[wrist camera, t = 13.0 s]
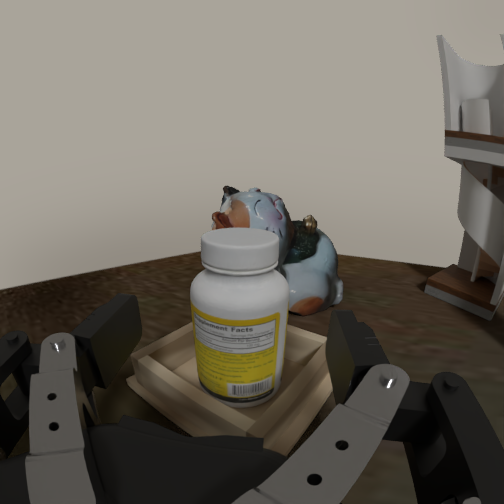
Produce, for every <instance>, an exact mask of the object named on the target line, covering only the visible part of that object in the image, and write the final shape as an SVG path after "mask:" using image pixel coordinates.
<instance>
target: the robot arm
mask: <svg viewBox="0 0 504 504" xmlns="http://www.w3.org/2000/svg"><path fill="white" fill-rule="evenodd" d="M141 335H142V325H141V319H140V313H139V306H138V300H137V297H136V296H135V295H129V294H121V293H119V294H117V295H116V296H115V297H114V298H113V299H111V300H110V301H109V302H108V303H106V304H104V305H102V306H100V307H98V308H97V309H96V310H95V311H93V312H92V313H91V315H89V316H88V317H87V318H86V320H84V321H83V322H81V323H80V324H79V325H78V326H77V327H76V328H75V329H74V330H73V331H72V332H71V333H70V334H68V333H56V334H53V335H50V336H48V337H47V338H46V339H45V340H44V341H43V342H42V344H30V342H29V339H28V336H27V334H26V333H25V332H23V331H13V332H10V333H7V334H6V335H4V336H3V337H2V338H1V339H0V386H1V384H2V383H3V382H4V381H5V380H6V378H7V377H8V376H9V375H10V374H11V373H12V374H13V376H14V378H15V380H16V382H17V384H18V386H17V387H16V388H15V389H14V391H13V392H12V393H11V394H10V395H9V397H8V398H7V399H6V400H5V402H4V400H3V399H2V397H1V395H0V504H342V503H341V501H342V499H343V498H344V497H345V495H346V494H347V493H348V491H349V490H350V488H351V487H352V486H353V484H354V483H355V481H356V480H357V478H358V477H359V475H360V474H361V472H362V471H363V469H364V468H365V466H366V465H367V463H368V461H369V460H370V458H371V457H372V455H373V453H374V452H375V450H376V448H377V447H378V445H379V443H380V441H381V440H382V439H383V440H391V441H400V442H403V444H404V448H405V451H406V455H407V459H408V463H409V467H410V471H411V475H412V479H413V483H414V488H415V492H416V497H417V502H418V504H504V449H503V447H502V445H501V443H500V441H499V439H498V437H497V435H496V433H495V431H494V430H493V428H492V426H491V424H490V422H489V420H488V418H487V417H486V415H485V413H484V411H483V409H482V408H481V406H480V404H479V402H478V401H477V399H476V397H475V396H474V394H473V392H472V391H471V389H470V387H469V386H468V384H467V382H466V381H465V380H464V379H463V378H462V377H461V376H459V375H457V374H455V373H451V372H441V373H438V374H436V375H435V376H434V378H433V380H432V382H431V384H428V383H420V382H413V381H409V377H408V375H407V373H406V372H405V371H404V370H402V369H401V368H399V367H397V366H394V365H390V363H389V361H388V359H387V357H386V355H385V353H384V351H383V349H382V347H381V345H379V341H378V340H377V338H376V336H375V334H374V332H373V330H372V329H371V328H370V327H369V326H368V325H366V324H365V323H364V322H357V320H356V318H355V316H354V314H353V312H352V310H333V311H332V314H331V319H330V324H329V330H328V335H327V340H326V347H325V355H326V361H327V365H328V369H329V374H330V378H331V383H332V387H333V392H334V397H335V402H336V407H335V408H334V409H333V411H332V412H331V413H330V414H329V415H328V417H327V418H326V419H325V420H324V421H323V422H322V424H321V425H320V426H319V427H318V428H317V429H316V430H315V431H314V433H313V434H312V435H311V436H310V437H309V438H308V439H307V440H306V441H305V442H304V443H303V444H302V445H301V447H300V448H299V449H298V450H297V451H296V452H295V453H294V454H293V455H292V456H291V457H290V458H289V457H287V456H285V455H283V454H281V453H278V452H276V451H273V450H270V449H266V448H263V443H264V438H256V437H243V436H232V435H219V436H201V437H187V436H183V435H181V434H178V433H176V432H174V431H171V430H169V429H167V428H165V427H162V426H160V425H158V424H156V423H153V422H149V421H145V420H141V419H137V418H133V417H129V416H126V415H123V416H122V418H121V420H120V421H119V423H118V424H117V423H114V424H101V421H100V417H99V413H98V409H97V404H96V400H95V395H94V392H93V390H92V389H93V388H94V386H97V387H101V388H104V389H107V387H108V386H109V384H110V383H111V381H112V380H113V378H114V377H115V375H116V374H117V373H118V371H119V370H120V368H121V367H122V365H123V364H124V362H125V361H126V360H127V358H128V357H129V355H130V354H131V352H132V351H133V350H134V348H135V347H136V345H137V344H138V343H139V341H140V339H141ZM28 426H29V437H30V451H29V452H26V453H23V454H20V455H17V456H14V457H11V458H8V456H9V455H10V453H11V452H12V450H13V448H14V447H15V445H16V444H17V442H18V441H19V439H20V438H21V436H22V435H23V433H24V432H25V430H26V429H27V427H28ZM7 458H8V459H7Z"/></svg>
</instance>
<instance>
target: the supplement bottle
mask: <svg viewBox="0 0 504 504" xmlns="http://www.w3.org/2000/svg"><path fill="white" fill-rule="evenodd" d="M278 258H279V237H278V236H277V235H276V234H275V233H273V232H270V231H266V230H262V229H256V228H223V229H217V230H212V231H209V232H207V233H205V234H203V235H202V237H201V259H202V265H203V266H204V267H205V268H206V269H205V270H203V271H202V272H200V273H199V274H198V275H197V276H196V277H195V278H194V280H193V282H192V284H191V289H190V298H191V311H192V323H193V333H194V344H195V353H196V362H197V372H198V378H199V383H200V386H201V388H202V390H203V391H204V393H206V394H207V395H209V396H211V397H213V398H214V399H216V400H218V401H219V402H221V403H223V404H225V405H226V406H228V407H235V408H247V407H253V406H257V405H260V404H262V403H264V402H266V401H268V400H269V399H271V398H272V397H273V396H274V395H275V394H276V392H277V391H278V389H279V387H280V384H281V380H282V372H283V364H284V354H285V344H286V333H287V322H288V311H289V294H290V290H289V285H288V282H287V280H286V279H285V278H284V276H283V275H282V274H280V273H279V272H278V271H276V270H274V268H275V267H276V266H277V265H278Z"/></svg>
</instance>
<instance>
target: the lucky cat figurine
mask: <svg viewBox="0 0 504 504" xmlns="http://www.w3.org/2000/svg"><path fill="white" fill-rule="evenodd" d="M223 190H224V195H223V198H222V205H221V208H220V212H215V213H213V214H212V219H213V221H214V222H213V224H212V230H217V229H223V228H256V229H262V230H266V231H270V232H273V233H275V234H276V235H277V236H278V237H279V258H278V265H277V266H276V267H275V268H274V270H276V271H278V272H279V273H280V274H282V275H283V276H284V278H285V279H286V280H287V282H288V285H289V290H290V294H289V311H291V312H293V313H295V314H298V315H301V316H306V315H310V314H314V313H317V312H320V311H323V310H326V309H327V308H329V307H330V306H331V305H333V304H339V302H340V301H341V300H342V298H343V297H342V294H343V282H342V280H340V278H339V277H338V274H337V269H338V257H337V253H336V250H335V248H334V246H333V243H332V242H331V240H330V239H329V238H328V236H327V235H325V234H324V233H323V232H321V230H320V229H318V228H317V221H316V220H315V219H314V218H313V217H312V215H309V216H307V217H305V218H304V219H303V221H299V220H298V221H291V219H290V216H289V213H288V211H287V209H286V208H285V205H284V203H283V201H282V199H281V198H280V197H278V196H277V195H274V194H271V193H264V192H261V191H260V189H258V188H252V189H250V190H249V192H240V191H239V190H236V189H235V188H233V187H229V186H225V187H224V188H223Z"/></svg>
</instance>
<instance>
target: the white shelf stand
mask: <svg viewBox="0 0 504 504" xmlns="http://www.w3.org/2000/svg"><path fill="white" fill-rule="evenodd" d="M500 36H501V40H502V44H503V48H504V35H501V34H500ZM437 42H438V48H439V55H440V62H441V71H442V81H443V93H444V110H445V111H444V112H445V155H444V156H445V157H447V158H450V159H451V160H453V161H456V162H458V163H459V164H461V165H462V168H461V169H462V170H461V184H460V194H459V203H458V218H459V220H460V222H461V224H462V226H463V227H464V229H465V231H464V237H463V243H462V248H461V253H460V257H459V262H458V266H457V265H455V264H452V265H450V266H449V267H447V268H445V269H443V270H441V271H440V272H438V273H436V274H434V275H432V276H431V277H429V278H428V279H427V283H426V287H425V291H424V293H427V294H429V295H431V296H434V297H436V298H438V299H441V300H443V301H446V302H448V303H450V304H453V305H455V306H457V307H459V308H462V309H464V310H466V311H469V312H471V313H473V314H475V315H478V316H480V317H482V318H485V319H487V320H489V321H491V319H492V317H493V315H494V314H495V312H496V310H497V308H498V306H499V304H500V302H501V300H502V298H503V295H504V64H503V65H500V66H483V65H478V64H474V63H471V62H468V61H466V60H464V59H462V58H461V57H460V56H458V55H457V53H456V52H455V51H454V49H453V48H452V47H451V46H450V44H449V43H448V42H447V41H446V39H445V38H444V37H443V36H442V35H438V36H437Z"/></svg>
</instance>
